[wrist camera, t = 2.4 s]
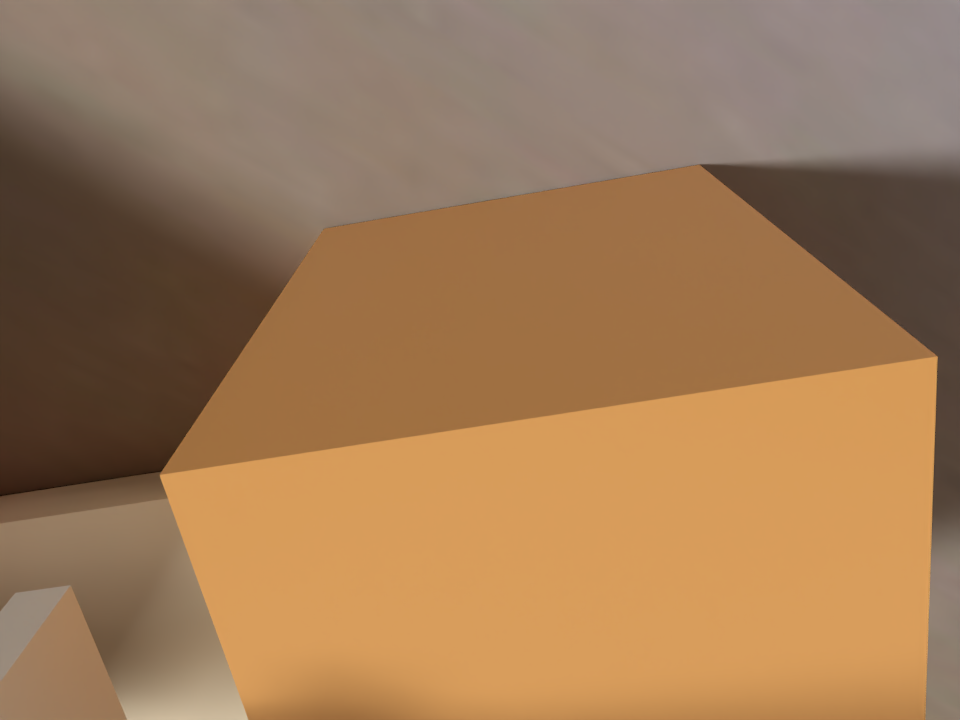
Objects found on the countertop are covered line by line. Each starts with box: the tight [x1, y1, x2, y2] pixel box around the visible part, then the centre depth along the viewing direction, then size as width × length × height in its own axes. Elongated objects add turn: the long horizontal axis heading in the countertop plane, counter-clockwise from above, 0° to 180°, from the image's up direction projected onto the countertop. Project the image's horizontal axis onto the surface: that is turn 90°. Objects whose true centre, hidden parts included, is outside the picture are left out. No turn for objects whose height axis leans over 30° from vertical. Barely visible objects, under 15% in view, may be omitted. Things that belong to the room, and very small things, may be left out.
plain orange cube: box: [160, 165, 938, 720], centre depth 13 cm, size 7×7×9 cm
